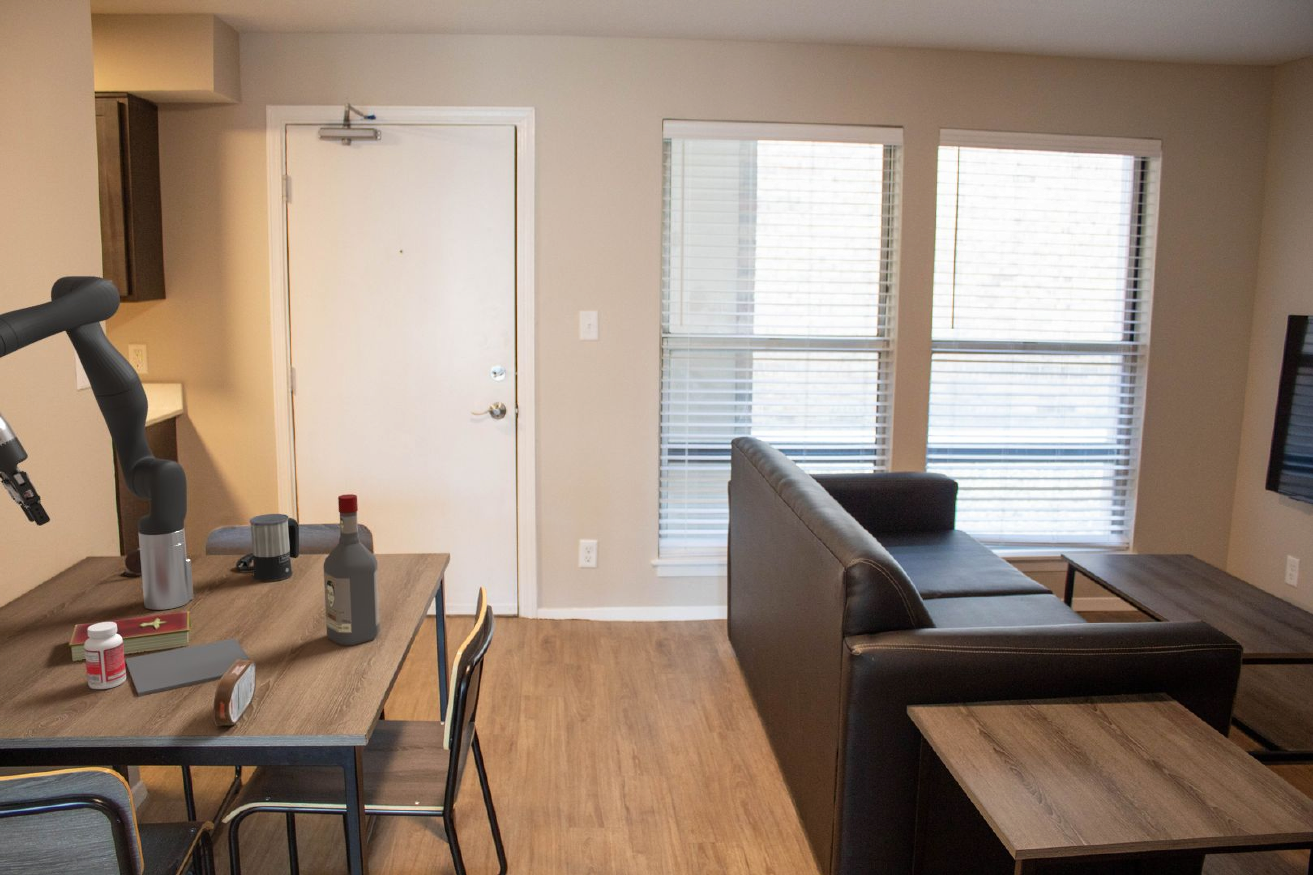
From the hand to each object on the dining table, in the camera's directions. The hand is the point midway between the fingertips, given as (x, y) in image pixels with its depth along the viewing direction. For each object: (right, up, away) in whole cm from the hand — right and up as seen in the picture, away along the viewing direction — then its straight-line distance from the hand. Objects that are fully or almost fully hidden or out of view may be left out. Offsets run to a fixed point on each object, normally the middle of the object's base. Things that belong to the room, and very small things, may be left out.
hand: (40, 521), depth 182 cm
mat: (+25, -28, +6) cm, 38 cm away
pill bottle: (+13, -30, -1) cm, 33 cm away
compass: (-15, -18, +60) cm, 65 cm away
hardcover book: (+8, -27, +17) cm, 33 cm away
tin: (+42, -32, -13) cm, 54 cm away
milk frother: (+16, -18, +63) cm, 67 cm away
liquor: (+51, -26, +22) cm, 62 cm away
